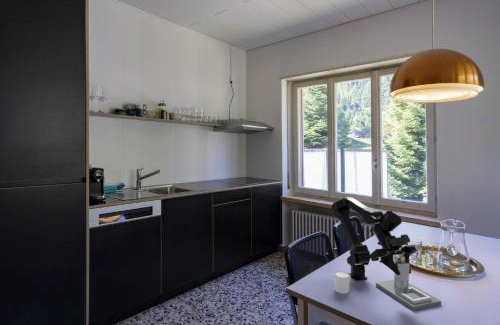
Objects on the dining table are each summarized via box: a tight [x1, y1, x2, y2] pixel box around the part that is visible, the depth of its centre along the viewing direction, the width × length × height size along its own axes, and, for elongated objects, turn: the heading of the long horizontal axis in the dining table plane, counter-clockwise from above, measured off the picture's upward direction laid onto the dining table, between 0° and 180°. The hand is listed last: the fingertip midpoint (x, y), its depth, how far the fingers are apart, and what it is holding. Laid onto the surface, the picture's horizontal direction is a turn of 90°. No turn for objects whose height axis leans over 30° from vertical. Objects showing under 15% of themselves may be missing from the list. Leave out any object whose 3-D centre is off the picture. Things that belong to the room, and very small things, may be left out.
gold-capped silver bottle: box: [393, 256, 411, 294], centre depth 111 cm, size 5×5×14 cm
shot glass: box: [333, 271, 352, 295], centre depth 123 cm, size 7×7×7 cm
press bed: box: [375, 279, 442, 311], centre depth 120 cm, size 20×14×3 cm
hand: (404, 274), depth 109 cm, fingers closed on gold-capped silver bottle, 5 cm apart
